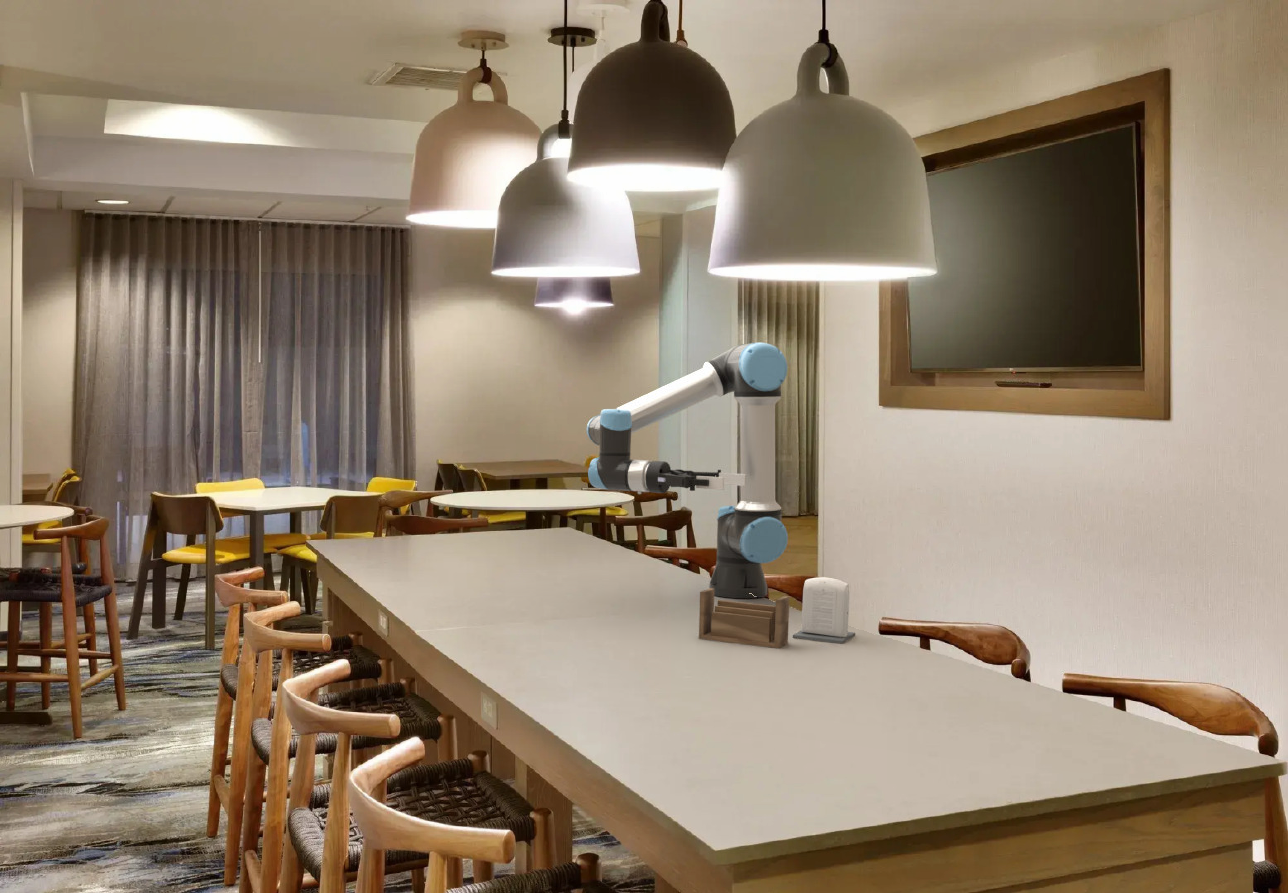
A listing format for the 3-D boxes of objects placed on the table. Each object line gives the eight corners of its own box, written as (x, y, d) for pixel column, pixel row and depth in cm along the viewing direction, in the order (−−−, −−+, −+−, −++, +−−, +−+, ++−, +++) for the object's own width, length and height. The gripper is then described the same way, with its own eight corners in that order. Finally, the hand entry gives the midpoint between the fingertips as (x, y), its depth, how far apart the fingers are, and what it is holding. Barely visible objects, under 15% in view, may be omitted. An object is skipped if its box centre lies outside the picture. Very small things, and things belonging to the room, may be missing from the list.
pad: (807, 629, 268) (807, 627, 268) (855, 635, 263) (855, 632, 263) (792, 637, 259) (792, 635, 259) (842, 643, 254) (842, 640, 254)
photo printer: (850, 635, 260) (852, 578, 260) (844, 638, 256) (846, 581, 256) (804, 629, 265) (806, 574, 264) (798, 633, 261) (800, 576, 260)
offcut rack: (708, 633, 261) (710, 588, 260) (787, 643, 253) (789, 596, 252) (698, 638, 255) (700, 591, 255) (779, 648, 248) (780, 600, 247)
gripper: (672, 488, 296) (753, 494, 287) (627, 496, 273) (713, 502, 264) (672, 458, 295) (754, 462, 286) (627, 463, 273) (714, 468, 264)
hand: (734, 481), depth 275 cm, fingers open, 13 cm apart
